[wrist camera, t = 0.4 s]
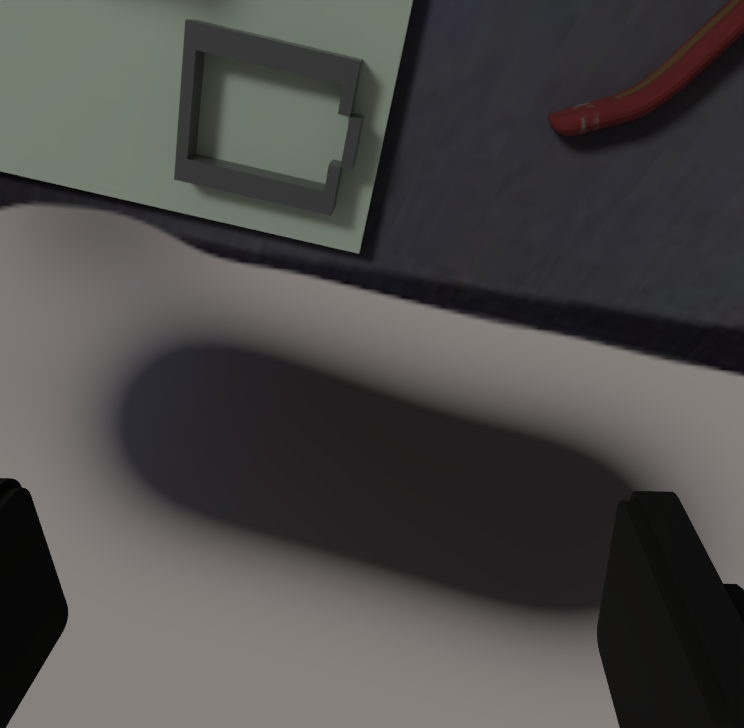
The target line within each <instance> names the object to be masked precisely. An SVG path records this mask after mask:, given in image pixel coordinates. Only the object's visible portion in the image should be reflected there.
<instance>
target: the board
mask: <svg viewBox="0 0 744 728" xmlns="http://www.w3.org/2000/svg"><path fill="white" fill-rule="evenodd" d="M412 5H413V0H0V171H1V172H5V173H10V174H14V175H18V176H23V177H27V178H31V179H36V180H40V181H44V182H49V183H53V184H58V185H62V186H66V187H71V188H75V189H79V190H84V191H88V192H92V193H97V194H101V195H105V196H110V197H114V198H118V199H123V200H127V201H131V202H136V203H140V204H145V205H149V206H153V207H158V208H162V209H166V210H171V211H175V212H179V213H184V214H188V215H192V216H197V217H201V218H205V219H210V220H214V221H218V222H223V223H227V224H232V225H236V226H240V227H245V228H249V229H253V230H258V231H262V232H266V233H271V234H275V235H279V236H284V237H288V238H292V239H297V240H301V241H305V242H310V243H314V244H319V245H323V246H327V247H332V248H336V249H340V250H345V251H349V252H353V253H358V254H359V252H360V249H361V244H362V240H363V235H364V230H365V226H366V221H367V216H368V211H369V207H370V202H371V197H372V193H373V188H374V183H375V179H376V174H377V169H378V164H379V160H380V155H381V150H382V146H383V141H384V136H385V132H386V127H387V122H388V117H389V113H390V108H391V103H392V99H393V94H394V89H395V84H396V80H397V75H398V70H399V66H400V61H401V56H402V52H403V47H404V42H405V37H406V33H407V28H408V23H409V19H410V14H411V9H412ZM187 19H196V20H200V21H204V22H209V23H213V24H217V25H221V26H225V27H230V28H234V29H238V30H242V31H246V32H251V33H255V34H259V35H263V36H267V37H271V38H276V39H280V40H284V41H288V42H292V43H297V44H301V45H305V46H309V47H313V48H318V49H322V50H326V51H330V52H334V53H338V54H343V55H347V56H351V57H355V58H359V59H363V62H362V67H361V72H360V78H359V83H358V88H357V94H356V99H355V104H354V109H353V113H355V114H360V115H364V120H363V125H362V130H361V135H360V140H359V145H358V150H357V156H356V161H355V165H354V167H353V169H352V170H348V169H344V168H342V173H341V179H340V184H339V189H338V195H337V200H336V205H335V209H334V211H333V213H332V216H329V215H325V214H320V213H316V212H312V211H308V210H303V209H299V208H295V207H290V206H286V205H282V204H277V203H273V202H269V201H264V200H260V199H256V198H251V197H247V196H243V195H238V194H234V193H230V192H225V191H221V190H217V189H212V188H208V187H204V186H199V185H195V184H191V183H186V182H182V181H178V180H174V173H175V159H176V144H177V130H178V116H179V102H180V88H181V74H182V60H183V46H184V32H185V20H187ZM342 88H343V85H341V84H336V83H332V82H328V81H324V80H319V79H315V78H311V77H307V76H303V75H298V74H294V73H290V72H286V71H282V70H277V69H273V68H269V67H265V66H261V65H256V64H252V63H248V62H244V61H239V60H235V59H231V58H227V57H223V56H218V55H214V54H210V53H206V52H205V55H204V67H203V79H202V91H201V102H200V114H199V126H198V138H197V149H196V154H199V155H203V156H208V157H212V158H216V159H221V160H225V161H229V162H234V163H238V164H242V165H246V166H251V167H255V168H259V169H264V170H268V171H272V172H276V173H281V174H285V175H289V176H294V177H298V178H302V179H307V180H311V181H315V182H319V183H324V184H325V183H326V178H327V172H328V166H329V164H330V162H331V161H332V159H333V160H338V161H342V156H343V150H344V145H345V140H346V134H347V129H348V124H349V118H350V117H348V116H344V115H340V114H338V110H339V105H340V99H341V93H342Z"/></svg>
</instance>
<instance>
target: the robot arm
mask: <svg viewBox="0 0 744 728" xmlns="http://www.w3.org/2000/svg"><path fill="white" fill-rule="evenodd" d="M67 618H68V607H67V603H66V600H65V597H64V594H63V591H62V588H61V585H60V582H59V579H58V576H57V573H56V570H55V566H54V563H53V560H52V557H51V555H50V551H49V548H48V545H47V542H46V539H45V536H44V534H43V530H42V527H41V524H40V521H39V518H38V515H37V512H36V509H35V506H34V503H33V500H32V497H31V494H30V492H29V491H28V490H27V489H25V488H22V487H21V485H20V483H19V482H18V481H17V480H15V479H10V478H0V728H6V726H7V725H8V723H9V721H10V719H11V718H12V716H13V714H14V713H15V711H16V709H17V708H18V706H19V704H20V702H21V701H22V699H23V698H24V696H25V694H26V693H27V691H28V689H29V688H30V686H31V684H32V682H33V681H34V679H35V678H36V676H37V674H38V672H39V671H40V669H41V667H42V666H43V664H44V662H45V661H46V659H47V657H48V656H49V654H50V652H51V651H52V649H53V647H54V645H55V644H56V642H57V641H58V639H59V637H60V636H61V634H62V632H63V630H64V628H65V626H66V623H67ZM597 640H598V648H599V652H600V656H601V659H602V663H603V667H604V671H605V674H606V678H607V682H608V685H609V689H610V693H611V697H612V700H613V704H614V708H615V712H616V715H617V719H618V723H619V727H620V728H744V590H743V589H742V588H741V587H739V586H738V585H737V584H723V583H722V581H721V579H720V577H719V575H718V573H717V571H716V569H715V567H714V565H713V563H712V562H711V560H710V558H709V556H708V554H707V552H706V550H705V548H704V546H703V544H702V542H701V540H700V539H699V536H698V535H697V533H696V531H695V529H694V527H693V525H692V523H691V521H690V519H689V517H688V515H687V514H686V511H685V510H684V508H683V506H682V504H681V502H680V500H679V498H678V497H677V495H676V494H675V493H673V492H654V491H653V492H652V491H635V492H633V493H632V495H631V497H630V501H620V502H619V504H618V508H617V512H616V518H615V524H614V530H613V536H612V542H611V548H610V554H609V560H608V566H607V572H606V578H605V583H604V589H603V595H602V601H601V608H600V613H599V619H598V625H597Z"/></svg>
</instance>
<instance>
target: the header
mask: <svg viewBox="0 0 744 728" xmlns="http://www.w3.org/2000/svg"><path fill="white" fill-rule="evenodd" d="M205 52H206V53H210V54H214V55H218V56H223V57H227V58H231V59H235V60H239V61H244V62H248V63H252V64H256V65H261V66H265V67H269V68H273V69H277V70H282V71H286V72H290V73H294V74H298V75H303V76H307V77H311V78H315V79H319V80H324V81H328V82H332V83H336V84H341V85H343V88H342V93H341V99H340V105H339V110H338V114H340V115H344V116H348V117H350V118H349V124H348V129H347V134H346V140H345V145H344V150H343V156H342V161H338V160H333V159H332V161H331V162H330V164H329V166H328V172H327V178H326V183H325V184H324V183H319V182H315V181H311V180H307V179H302V178H298V177H294V176H289V175H285V174H281V173H276V172H272V171H268V170H264V169H259V168H255V167H251V166H246V165H242V164H238V163H234V162H229V161H225V160H221V159H216V158H212V157H208V156H203V155H199V154H196V149H197V138H198V126H199V114H200V102H201V91H202V79H203V67H204V55H205ZM362 62H363V59H359V58H355V57H351V56H347V55H343V54H338V53H334V52H330V51H326V50H322V49H318V48H313V47H309V46H305V45H301V44H297V43H292V42H288V41H284V40H280V39H276V38H271V37H267V36H263V35H259V34H255V33H251V32H246V31H242V30H238V29H234V28H230V27H225V26H221V25H217V24H213V23H209V22H204V21H200V20H196V19H187V20H185V32H184V46H183V60H182V74H181V88H180V102H179V116H178V130H177V144H176V159H175V173H174V180H178V181H182V182H186V183H191V184H195V185H199V186H204V187H208V188H212V189H217V190H221V191H225V192H230V193H234V194H238V195H243V196H247V197H251V198H256V199H260V200H264V201H269V202H273V203H277V204H282V205H286V206H290V207H295V208H299V209H303V210H308V211H312V212H316V213H320V214H325V215H329V216H332V213H333V211H334V209H335V205H336V200H337V195H338V189H339V184H340V179H341V173H342V168H344V169H348V170H352V169H353V167H354V165H355V161H356V156H357V150H358V145H359V140H360V135H361V130H362V125H363V120H364V115H360V114H355V113H353V109H354V104H355V99H356V94H357V88H358V83H359V78H360V72H361V67H362Z"/></svg>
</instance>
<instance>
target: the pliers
mask: <svg viewBox="0 0 744 728" xmlns="http://www.w3.org/2000/svg"><path fill="white" fill-rule="evenodd" d="M743 33H744V0H730V1H729V2H728V3H726V4H725V5H724V6H723V7H722V8H721V9H720V10H719V11H718V12H717V13H716V14H715V15H714V16H713V17H712V18H711V19H710V20H709V21H707V22H706V23H705V24H704V25H703V26H702V27H701V28H700V29H699V30H698V31H697V32H696V33H695V34H694V35H693V36H692V37H691V38H690V39H688V40H687V41H686V42H685V43H684V44H683V45H682V46H681V47H680V48H679V49H678V50H677V51H676V52H675V53H674V54H673V55H672V56H671V57H670V58H668V59H667V60H666V61H665V62H664V63H663V64H662V65H661V66H660V67H659V68H657V69H656V70H655V71H654V72H653V73H651V74H650V75H649V76H647V77H646V78H645V79H643V80H642V81H640V82H639V83H637V84H636V85H634V86H632V87H630V88H628V89H626V90H624V91H622V92H620V93H618V94H615V95H613V96H610V97H606V98H603V99H599V100H596V101H592V102H589V103H585V104H582V105H578V106H574V107H571V108H568V109H564V110H561V111H557V112H554V113H550V114H549V115H548V118H549V123H550V125H551V127H552V128H553V130H554V131H555V132H557V133H558V134H560V135H563V136H575V135H579V134H583V133H587V132H591V131H594V130H598V129H602V128H606V127H610V126H614V125H618V124H622V123H626V122H630V121H633V120H636V119H638V118H640V117H642V116H644V115H646V114H648V113H650V112H651V111H653V110H654V109H656V108H658V107H659V106H661V105H662V104H663V103H665V102H666V101H668V100H669V99H670V98H672V97H673V96H674V95H676V94H677V93H678V92H679V91H681V90H682V89H683V88H684V87H685V86H687V85H688V84H689V83H690V82H691V81H692V80H693V79H694V78H695V77H696V76H697V75H699V74H700V73H701V72H702V71H703V70H704V69H705V68H706V67H707V66H708V65H709V64H711V63H712V62H713V61H714V60H715V59H716V58H717V57H718V56H719V55H720V54H721V53H723V52H724V51H725V50H726V49H727V48H728V47H729V46H730V45H731V44H732V43H733V42H735V41H736V40H737V39H738V38H739V37H740V36H741V35H742V34H743Z"/></svg>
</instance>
